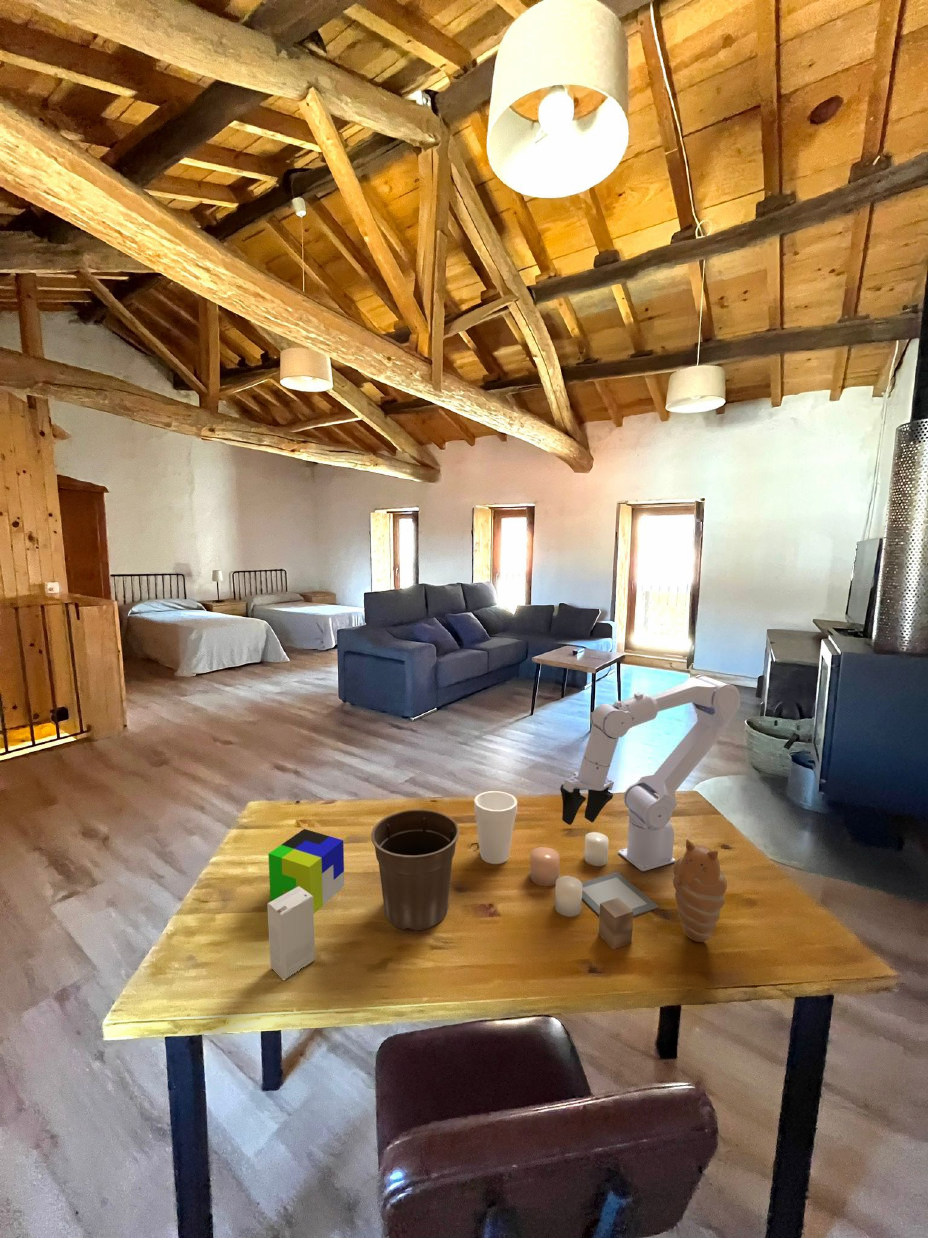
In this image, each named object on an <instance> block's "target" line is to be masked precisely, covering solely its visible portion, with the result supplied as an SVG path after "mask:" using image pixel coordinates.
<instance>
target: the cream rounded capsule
mask: <svg viewBox="0 0 928 1238" xmlns="http://www.w3.org/2000/svg"><path fill="white" fill-rule="evenodd" d="M554 890H555V891H554V892H555V893H554V894H555V895H554V909H555V911H556V912H557V913H559V914H560V915H562V916H564V917H569V918H572V917H577V916H579V915H580V914H581V912H582V904H583V899H582V882H581V880H580V879H578V878H577V877H575V876H571V875H570V876H569V875H563V876H559V878H558V879H557V880H556V884H555V889H554Z"/></svg>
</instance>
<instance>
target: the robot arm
mask: <svg viewBox="0 0 928 1238" xmlns="http://www.w3.org/2000/svg"><path fill="white" fill-rule="evenodd" d="M690 703H691V705H692V706H693V710H694V711H695V713H696V720H697V721H696V722H695V724H694V725H693V726H692V727H691V729H690V730H689V731H688V732H687V733H686V735H685V736H684V737H683V738H682V739H681V741H680V742H679V743H678V744H677V745H676V746H675V748H674V749H673V750H672V751H671V753H670V754H669V755H668V757H667V758H666V759H665V760H664V761H663V762H662V764H661V765H660V766H659V767H658V768H657V770H656V771H655V772H654V774H651V775H645V776H642V777H640V779H638V781H637V782H635V783H632V784H631V785H630V786H629V787H628V788H627V789H626V790H625V792H624V793H623V794H624V795H623V803H624V805H625V807H626V808H628V813H627V814H628V827H627V829H628V830H627V831H628V832H627V845H626V848H622V849H619V850H618V854H619V855H621V856H622V858H625V859H626V861H628V862H629V863H631V864H632V865H634V866H635V867H636V868H637V869H638V870H640V871H641V872H646V871H649V870H652V869H656V868H659V867H662V866H666V865H669V864H674V863H675V862H676V859H675V858H674V857H673V856H674V855H673V853H674V843H675V842H674V841H675V840H674V839H675V830H674V828H673V827H674V826H673V823H671V821H670V820H671V818H672V814H673V812H674V810H676V808H677V806H678V801H677V797H676V792H677V791H678V789H679V788H680V787H681V786H682V785H683V783H684V782H685V781H686V779H687V778H688V777H689V776H690V774H691V773H692V772H693V771H694V769H695V768H696V767H697V765H699V763H700V762H701V761H702V759H703V758H704V757H705V756H706V755H707V754H708V753H709V752H710V750H711V749H712V747H714V746H715V744H716V743H717V742H718V740H719V739H720V738H721V736H722V735H723V734H724V733H725V732H726V730H727V728H728V725H729V723H730V721H731V719H732V718H733V716H734V715H735V714H736V713H737V711H738V710H739V709H740V707H741V697H740V692H739V689H738V688H737V687H736V686H735V685H733V684H730V683H725V682H723V681H720V680H716V679H714V678H711V677H709V676H707V675H705V674H698V675H695V676H694V677H692V676H691V677H688V678H687V679H686V680H685V681H684V682H682V683H680V684H678V685H675V686H673V687H671V688H668V689H666V690H664V691H661V692H659V693H656V694H654V695H652V696H650V695H649V694H647V693H640V692H637V693H634V694H633V696H632V697H629V698H626V699H623V700H621V701H620V700H616V701H614V703H613V704H610V703H609V704H608V703H602V704H600V705H598V706H597V707H595V708H594V710H593V712H590V713H589V721H590V724H591V728H590V734H589V737H588V740H587V744H586V746H585V750H584V754H583V757H582V759H581V762H580V766H579V769H578V772H577V771H574V773H573V776H572V777H570V778H565V780H564V782H563V784H560V788H559V790H560V793H561V800H562V816H561V820H562V822H564V823H566V824H567V825H569V826H571V825H572V824H573V823H574V821H575V818H576V816H577V814H578V811H579V809H580V808H581V806H582V805H583V804H584V802H585V801H586V800H587V801H586V807H585V811H584V818H585V819H586V820H587V821H589V822H590V823H594V822H595V821H596V819H597V818H598V816H599V814H600V813H601V811H602V810H603V808H604V807H605V805H607V803H609V802H610V801H611V800H612V799H613V798H614V793H612V792H610V791H612V790H613V787H614V783H615V782H614V781H613V780H612V779H610V778H608V774H609V770H610V767H611V764H612V760H613V759H614V755H615V752H616V748H617V746H618V743H619V739H620V738H623V737H624V736H625V735H626V734H627V733H628V732H629V730H630V729H632V728H633V727H637V726H639V725H641V724H645V723H647V722H650V721H652V720H655V719H656V718H657V716H658V713H659V712H663V711H665V710H669V709H673V708H676V707H680V706H683V705H687V704H690ZM580 791H587V798H586V797H585V796H584V795H582V794H581V792H580ZM656 794H657V795H656Z"/></svg>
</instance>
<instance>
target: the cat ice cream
mask: <svg viewBox="0 0 928 1238" xmlns="http://www.w3.org/2000/svg"><path fill="white" fill-rule="evenodd" d="M685 847H686V848H685V849H686V851H685V852H684V854H683V856H682V857H679V858H678V859H677V860H675V862H673V866H672V873H673V874H674V876H673V879H672V880H673V882H672V883H673V887H674V890H675V894H674V895H675V896H674V897H675V900H676V904H677V913H678V917H679V918H680V920H681V927H682V930H683V931H684V933H685V934H686V935H687V936H688V938H689V939H691V940H692V941H694V942H697V943H705V942H707V941H708V940H709V939H710V938H711V936H712V932H714V931H715V929H716V927H717V922H718V921H719V919H720V915H721V914H720V913H721V909H722V908H723V907H724V906H725V903H726V897H725V893H726V892H727V889H728V882H727V878H726V877H725V876H724V874H723V872H722V870H721V863H720V861H719V857H718V856H719V851H718V850H712V849H711V848H710V847H707V846H705V845H702V844H694V843H692V842H691V841H690V840H689V839H686V840H685Z"/></svg>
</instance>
